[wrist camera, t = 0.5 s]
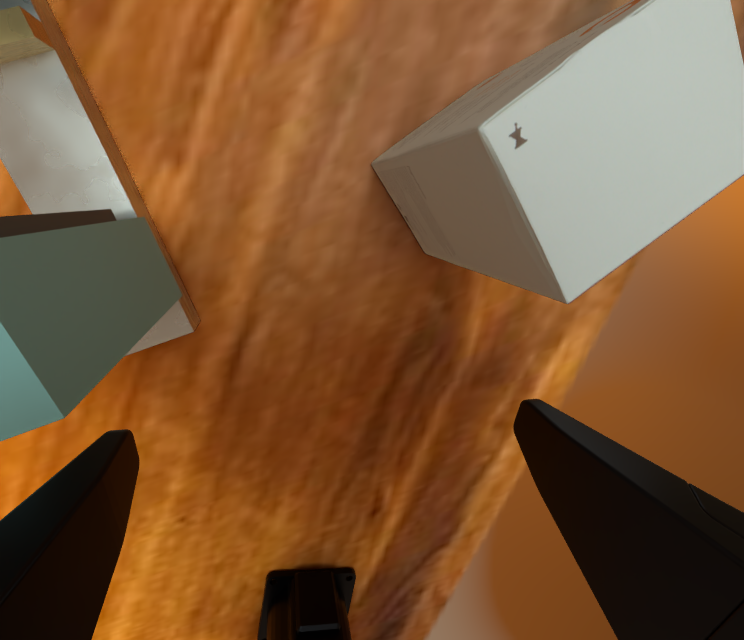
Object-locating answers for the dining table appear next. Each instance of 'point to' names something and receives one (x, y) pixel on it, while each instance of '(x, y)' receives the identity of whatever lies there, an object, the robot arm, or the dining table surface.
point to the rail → (66, 140)
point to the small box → (579, 149)
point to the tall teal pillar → (72, 307)
